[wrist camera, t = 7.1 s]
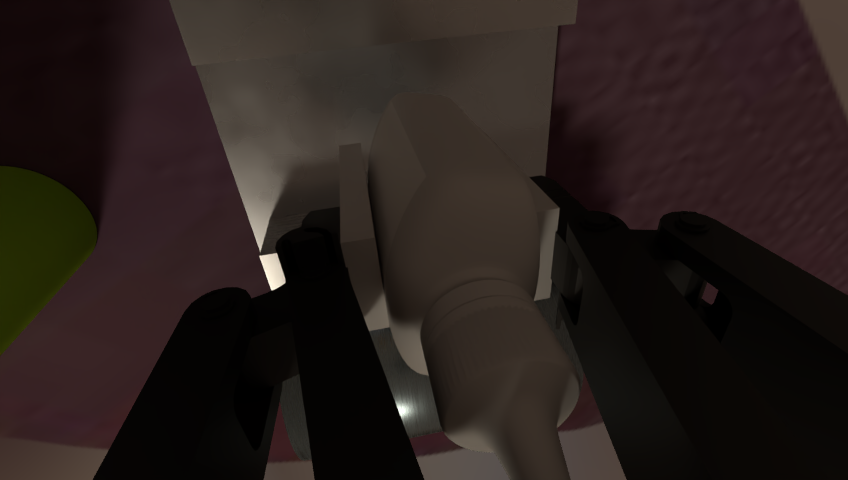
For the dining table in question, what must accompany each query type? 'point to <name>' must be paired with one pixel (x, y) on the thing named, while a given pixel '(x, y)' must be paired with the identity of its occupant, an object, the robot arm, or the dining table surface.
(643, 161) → the dining table surface
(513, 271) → the eye dropper bottle
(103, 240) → the dining table surface
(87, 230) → the soap dispenser
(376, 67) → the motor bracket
